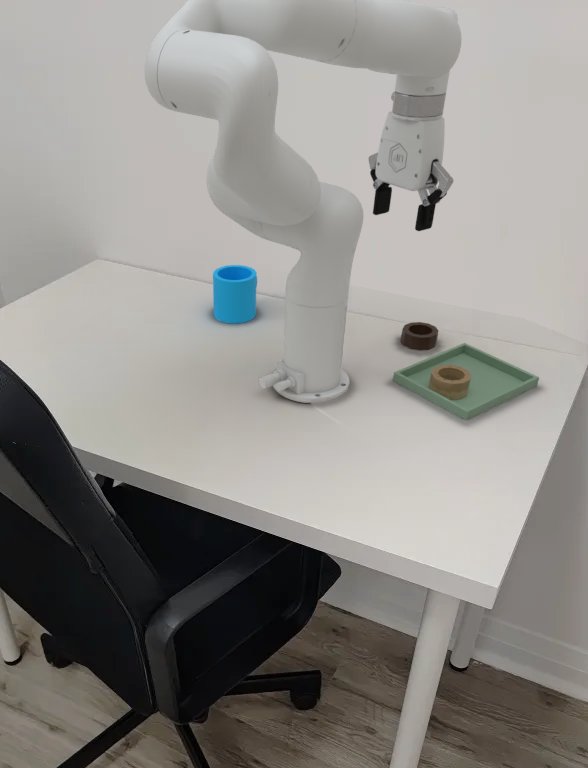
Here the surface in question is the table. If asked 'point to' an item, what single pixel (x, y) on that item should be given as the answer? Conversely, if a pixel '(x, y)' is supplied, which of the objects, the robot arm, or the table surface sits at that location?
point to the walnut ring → (419, 336)
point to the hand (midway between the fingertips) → (401, 221)
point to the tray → (487, 383)
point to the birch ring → (450, 381)
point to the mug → (234, 293)
